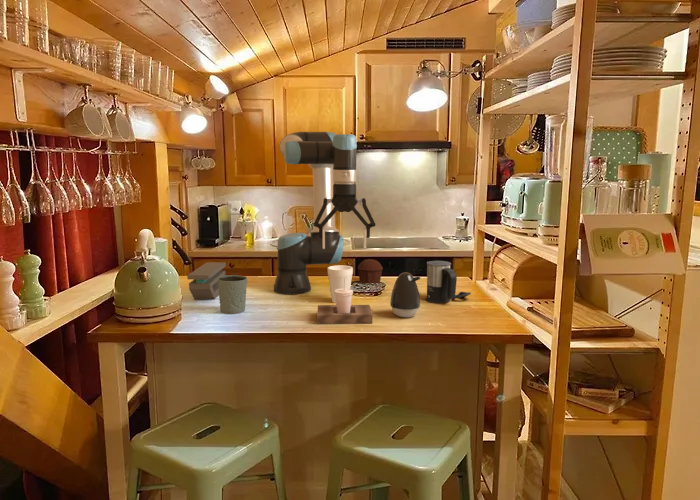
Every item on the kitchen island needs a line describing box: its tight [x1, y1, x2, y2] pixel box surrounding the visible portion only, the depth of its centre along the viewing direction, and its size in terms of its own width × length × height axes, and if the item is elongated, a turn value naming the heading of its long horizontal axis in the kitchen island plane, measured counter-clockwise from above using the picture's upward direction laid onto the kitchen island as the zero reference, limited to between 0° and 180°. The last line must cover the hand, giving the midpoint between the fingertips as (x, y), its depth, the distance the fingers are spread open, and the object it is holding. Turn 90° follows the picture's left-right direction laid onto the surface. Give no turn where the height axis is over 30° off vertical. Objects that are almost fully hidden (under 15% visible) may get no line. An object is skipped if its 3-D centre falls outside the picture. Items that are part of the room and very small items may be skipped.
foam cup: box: [327, 264, 354, 304], centre depth 196 cm, size 10×9×13 cm
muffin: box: [357, 258, 384, 284], centre depth 227 cm, size 12×11×10 cm
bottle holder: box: [316, 304, 373, 325], centre depth 175 cm, size 18×12×3 cm, turn 93°
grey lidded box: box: [187, 261, 227, 300], centre depth 204 cm, size 25×8×11 cm, turn 179°
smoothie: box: [334, 278, 354, 313], centre depth 174 cm, size 6×6×14 cm
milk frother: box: [425, 260, 472, 304], centre depth 198 cm, size 14×16×15 cm
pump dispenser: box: [389, 271, 421, 318], centre depth 178 cm, size 10×10×15 cm
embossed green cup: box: [218, 274, 248, 315], centre depth 183 cm, size 10×10×12 cm
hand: (344, 248), depth 171 cm, fingers open, 13 cm apart
